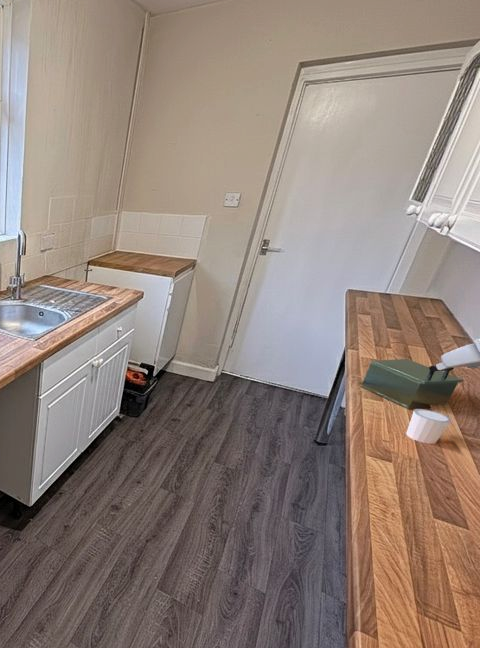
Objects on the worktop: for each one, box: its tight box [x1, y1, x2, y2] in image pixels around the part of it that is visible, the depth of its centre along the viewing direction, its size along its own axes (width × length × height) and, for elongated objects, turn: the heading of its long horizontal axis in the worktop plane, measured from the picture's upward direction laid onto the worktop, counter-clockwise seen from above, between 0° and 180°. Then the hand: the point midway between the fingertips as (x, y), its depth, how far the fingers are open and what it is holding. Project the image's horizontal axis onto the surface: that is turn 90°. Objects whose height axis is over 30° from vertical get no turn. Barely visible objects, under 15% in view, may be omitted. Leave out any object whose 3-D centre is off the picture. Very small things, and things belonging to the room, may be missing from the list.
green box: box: [360, 362, 459, 410], centre depth 129 cm, size 15×13×9 cm
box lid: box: [370, 358, 464, 384], centre depth 126 cm, size 15×13×5 cm
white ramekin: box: [405, 408, 452, 445], centre depth 108 cm, size 7×7×7 cm
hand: (453, 366), depth 117 cm, fingers open, 8 cm apart
